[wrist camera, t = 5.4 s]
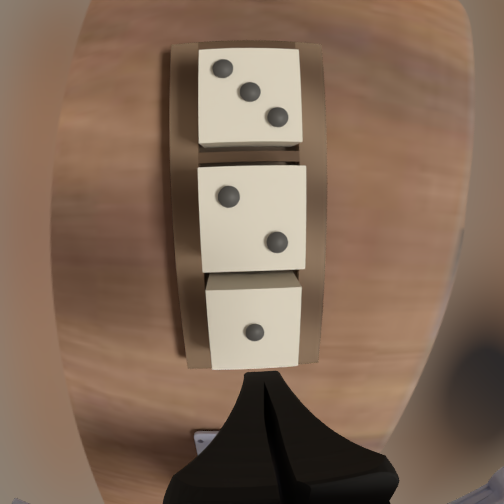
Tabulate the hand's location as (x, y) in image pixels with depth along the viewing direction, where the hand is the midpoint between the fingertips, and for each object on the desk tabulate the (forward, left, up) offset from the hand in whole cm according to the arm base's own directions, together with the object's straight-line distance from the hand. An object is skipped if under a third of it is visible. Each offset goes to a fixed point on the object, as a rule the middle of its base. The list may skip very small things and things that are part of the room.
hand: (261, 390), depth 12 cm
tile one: (0, 0, -8) cm, 8 cm away
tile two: (+6, 0, -7) cm, 10 cm away
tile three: (+13, 0, -8) cm, 15 cm away
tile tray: (+6, 0, -9) cm, 11 cm away
